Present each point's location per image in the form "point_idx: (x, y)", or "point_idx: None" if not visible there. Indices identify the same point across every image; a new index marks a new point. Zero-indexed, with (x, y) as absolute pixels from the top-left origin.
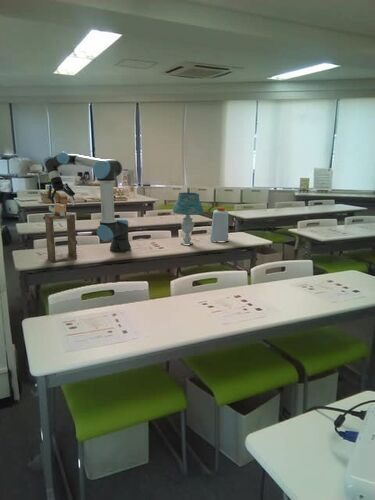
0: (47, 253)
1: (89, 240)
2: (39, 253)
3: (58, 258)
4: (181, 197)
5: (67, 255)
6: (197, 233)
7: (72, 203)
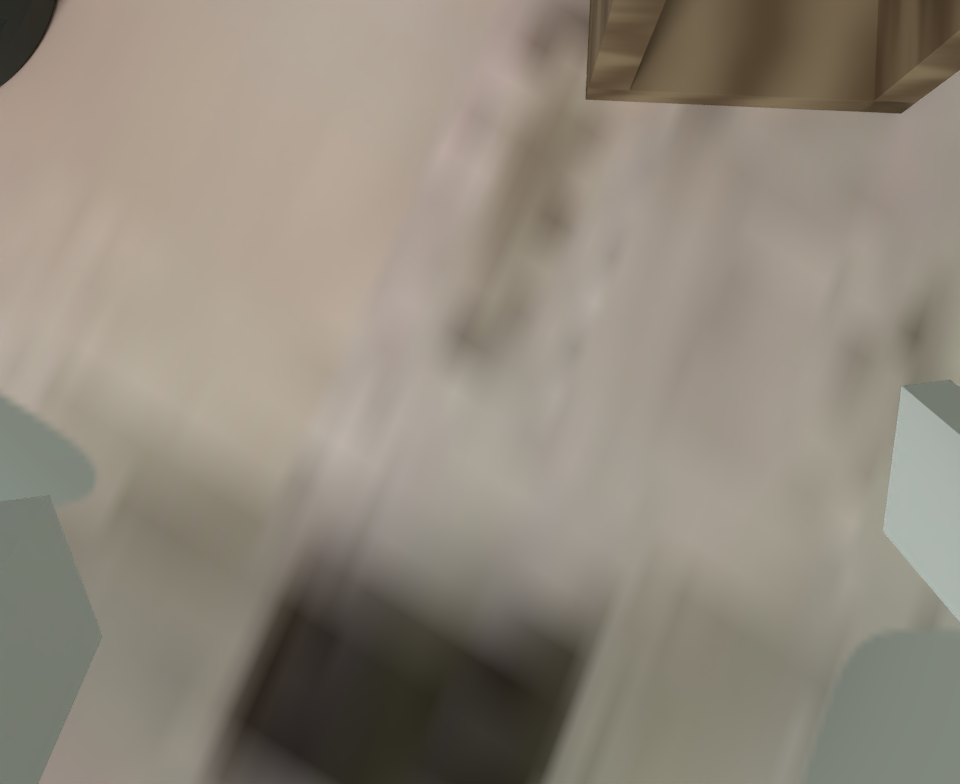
0: (935, 85)
1: None
2: None
3: None
4: None
5: (679, 1)
6: None
7: (57, 653)
